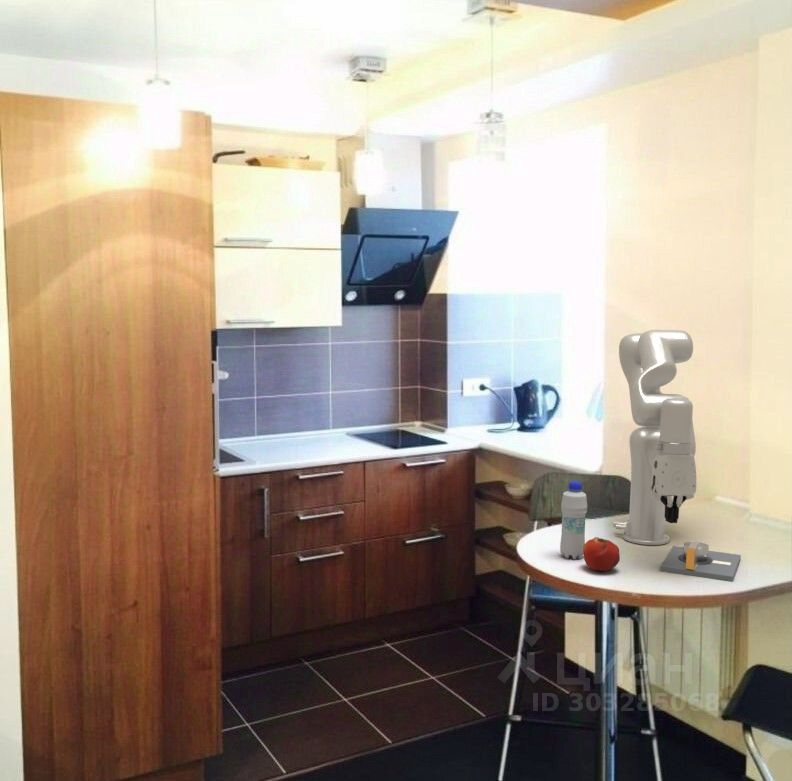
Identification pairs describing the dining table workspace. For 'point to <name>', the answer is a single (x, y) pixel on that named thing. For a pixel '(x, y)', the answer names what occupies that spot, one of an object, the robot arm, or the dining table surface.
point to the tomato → (601, 554)
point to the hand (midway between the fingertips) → (671, 521)
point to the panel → (703, 565)
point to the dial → (695, 553)
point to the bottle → (573, 521)
